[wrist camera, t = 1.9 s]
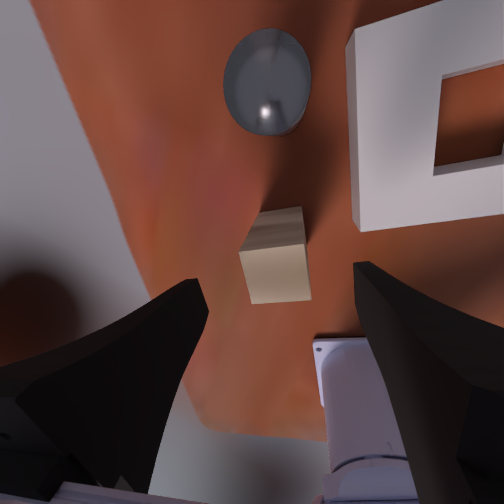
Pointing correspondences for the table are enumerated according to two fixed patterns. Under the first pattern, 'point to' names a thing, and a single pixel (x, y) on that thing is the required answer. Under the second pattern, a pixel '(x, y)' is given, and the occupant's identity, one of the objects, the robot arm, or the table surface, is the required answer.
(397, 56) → the socket block
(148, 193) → the table surface
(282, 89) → the round peg
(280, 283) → the square peg
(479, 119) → the table surface
